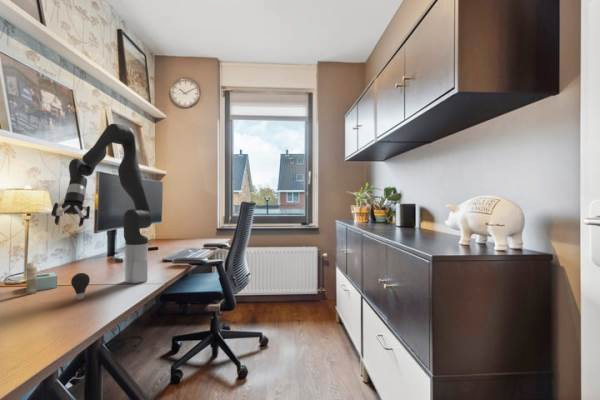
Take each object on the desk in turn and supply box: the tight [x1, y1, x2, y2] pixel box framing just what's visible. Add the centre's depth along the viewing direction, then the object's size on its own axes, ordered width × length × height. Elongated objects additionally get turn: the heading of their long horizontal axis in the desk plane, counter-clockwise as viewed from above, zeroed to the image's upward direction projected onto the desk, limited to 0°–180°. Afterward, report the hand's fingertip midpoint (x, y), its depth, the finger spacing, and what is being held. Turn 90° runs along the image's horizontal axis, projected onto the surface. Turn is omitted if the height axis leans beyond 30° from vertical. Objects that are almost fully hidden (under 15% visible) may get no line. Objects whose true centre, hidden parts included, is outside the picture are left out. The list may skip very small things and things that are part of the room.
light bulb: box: [70, 272, 90, 301], centre depth 113 cm, size 6×6×10 cm
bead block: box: [36, 272, 58, 292], centre depth 128 cm, size 9×9×5 cm
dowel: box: [25, 262, 38, 296], centre depth 120 cm, size 3×3×12 cm
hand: (68, 225), depth 140 cm, fingers open, 8 cm apart
